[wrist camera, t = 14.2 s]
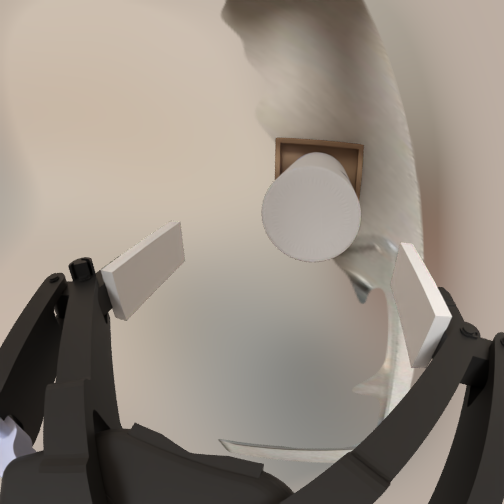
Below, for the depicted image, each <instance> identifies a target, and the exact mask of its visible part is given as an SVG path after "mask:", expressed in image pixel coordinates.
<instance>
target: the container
mask: <svg viewBox="0 0 504 504" xmlns="http://www.w3.org/2000/svg"><path fill="white" fill-rule="evenodd" d="M262 221H263V225H264V229H265V231H266V233H267V235H268V237H269V239H270V240H271V241H272V243H273V244H274V245H275V246H276V247H277V248H278V249H279V250H280V251H281V252H283V253H284V254H286V255H288V256H290V257H292V258H294V259H297V260H300V261H305V262H321V261H326V260H329V259H332V258H334V257H336V256H338V255H340V254H341V253H343V252H344V251H345V250H346V249H347V248H348V247H349V246H350V245H351V244H352V242H353V241H354V239H355V238H356V236H357V233H358V231H359V227H360V222H361V209H360V204H359V201H358V198H357V196H356V193H355V191H354V189H353V187H352V184H351V182H350V180H349V178H348V176H347V174H346V171H345V169H344V168H343V166H342V165H341V163H340V162H339V161H338V160H337V159H335V158H334V157H333V156H331V155H328V154H326V153H321V152H312V153H308V154H305V155H303V156H301V157H300V158H299V159H297V160H296V161H295V162H294V163H293V164H292V165H291V166H290V167H289V168H288V169H287V170H285V171H284V172H283V173H282V174H281V175H280V176H279V177H278V178H277V179H276V180H275V181H274V182H273V183H272V184H271V186H270V187H269V189H268V190H267V192H266V194H265V197H264V200H263V204H262Z"/></svg>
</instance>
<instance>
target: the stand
mask: <svg viewBox="0 0 504 504" xmlns="http://www.w3.org/2000/svg"><path fill="white" fill-rule="evenodd" d="M363 149H364V145H361V144H353V143H344V142H335V141H324V140H311V139H296V138H276V150H275V151H276V153H275V180H276V179H277V178H278V177H279V176H280V175H281V174H282V173H283V172H284V171H285V170H287V169H288V168H289V167H290V166H291V165H292V164H293V163H294V162H295V161H296V160H297V159H299V158H300V157H301V156H303V155H305V154H308V153H312V152H321V153H326V154H328V155H331V156H333V157H334V158H335V159H337V160H338V161H339V162H340V163H341V165H342V166H343V168H344V169H345V171H346V174H347V176H348V178H349V180H350V182H351V184H352V187H353V189H354V191H355V193H356V196H357V198H358V201H359V197H360V187H361V176H362V164H363Z"/></svg>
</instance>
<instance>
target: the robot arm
mask: <svg viewBox="0 0 504 504" xmlns="http://www.w3.org/2000/svg"><path fill="white" fill-rule="evenodd" d="M184 261H185V257H184V249H183V241H182V232H181V223H180V222H178V221H169V222H168V223H166V224H165V225H163V226H162V227H160V228H159V229H157V230H156V231H154V232H153V233H152V234H150V235H149V236H147V237H146V238H144V239H143V240H142V241H140V242H139V243H137V244H136V245H134V246H133V247H131V248H130V249H129V250H127V251H126V252H124V253H123V254H122V255H120V256H118V257H117V258H116V259H114V261H112V262H110V263H109V264H108V265H106V266H105V267H103V268H102V269H101V270H99V271H98V272H97V273H95V270H94V266H93V263H92V259H91V258H87V257H84V258H80V259H77V260H75V261H73V262H72V263H70V264H69V270H70V273H71V276H72V279H73V281H72V282H66V279H65V276H64V274H63V273H54V274H52V275H50V276H49V277H47V278H46V279H45V281H44V282H43V283H42V285H41V286H40V287H39V289H38V290H37V291H36V293H35V294H34V296H33V297H32V298H31V300H30V301H29V303H28V304H27V306H26V307H25V309H24V310H23V312H22V313H21V315H20V316H19V318H18V319H17V321H16V323H15V324H14V326H13V327H12V329H11V331H10V332H9V334H8V336H7V337H6V339H5V341H4V342H3V344H2V346H1V348H0V477H1V478H2V484H1V492H0V504H373V503H374V502H375V501H376V500H377V499H378V498H379V497H380V496H381V495H382V494H383V493H384V492H385V490H386V489H387V488H388V487H389V486H390V482H391V481H392V480H393V478H394V477H395V476H396V475H397V474H398V473H399V471H400V470H401V469H402V468H403V467H404V466H405V464H406V463H407V462H408V461H409V460H410V458H411V457H412V456H413V454H414V453H415V452H416V451H417V449H418V448H419V446H420V445H421V444H422V443H423V441H424V440H425V438H426V437H427V436H428V434H429V433H430V431H431V430H432V428H433V427H434V425H435V424H436V422H437V421H438V419H439V418H440V416H441V415H442V413H443V411H444V410H445V408H446V406H447V405H448V403H449V401H450V400H451V398H452V396H453V394H454V393H455V391H456V389H457V387H458V385H459V383H462V384H465V385H467V386H466V392H465V397H464V402H463V406H462V410H461V415H460V418H459V422H458V426H457V430H456V433H455V437H454V440H453V443H452V446H451V449H450V452H449V455H448V458H447V461H446V464H445V466H444V469H443V472H442V474H441V476H440V479H439V481H438V483H437V486H436V488H435V491H434V493H433V495H432V497H431V499H430V501H429V503H428V504H502V502H503V499H504V333H503V332H500V333H497V335H495V337H494V339H493V341H491V340H487V339H483V338H481V337H480V333H479V331H478V329H477V328H476V327H475V326H473V325H472V324H470V323H467V322H464V320H463V318H462V316H461V314H460V312H459V310H458V308H457V307H456V304H455V302H454V301H453V299H452V297H451V295H450V294H449V292H447V291H446V290H445V289H444V288H443V287H437V286H436V284H435V282H434V280H433V279H432V277H431V275H430V273H429V271H428V269H427V268H426V266H425V264H424V262H423V261H422V259H421V257H420V256H419V254H418V252H417V251H416V249H415V247H414V246H413V244H410V243H402V242H400V245H399V250H398V255H397V259H396V264H395V268H394V272H393V276H392V280H391V284H390V285H391V289H392V292H393V295H394V299H395V302H396V306H397V310H398V313H399V317H400V321H401V325H402V329H403V333H404V337H405V341H406V346H407V350H408V355H409V359H410V364H411V368H426V370H425V371H424V372H423V374H422V375H421V376H420V378H419V379H418V381H417V382H416V383H415V384H414V385H413V387H412V388H411V389H410V390H409V392H408V393H407V394H406V395H405V397H404V398H403V399H402V400H401V401H400V402H399V404H398V405H397V406H396V407H395V408H394V409H393V410H392V412H391V413H390V414H389V415H388V416H387V417H386V418H385V419H384V420H383V421H382V422H381V424H380V425H379V426H378V427H377V428H376V429H375V430H374V431H373V432H372V433H371V434H370V435H369V436H368V437H367V438H366V439H365V440H364V441H363V442H361V443H360V444H359V445H358V446H357V447H356V448H355V449H354V450H353V451H351V452H348V453H347V454H346V455H344V456H343V457H342V458H341V459H339V460H338V461H337V462H336V463H334V464H333V465H332V466H331V467H330V468H328V469H327V470H326V471H325V472H323V473H322V474H321V475H319V476H318V477H317V478H315V479H314V480H313V481H311V482H310V483H309V484H308V485H306V486H305V487H303V488H302V489H300V490H299V491H297V492H296V493H293V492H292V490H291V489H290V488H289V487H288V486H287V485H286V484H285V483H283V482H282V481H281V480H279V479H278V478H276V477H274V476H273V475H271V474H269V473H266V472H264V471H263V467H264V464H261V463H256V462H251V461H247V460H242V459H238V458H234V457H230V456H217V455H204V454H194V453H189V452H188V451H186V450H184V449H183V448H181V447H180V446H178V445H177V444H175V443H174V442H172V441H171V440H169V439H168V438H167V437H165V436H164V435H162V434H160V433H158V432H155V431H153V430H150V429H148V428H146V427H143V426H141V425H139V424H137V423H134V425H133V426H132V428H131V429H122V426H121V424H120V420H119V413H118V407H117V400H116V393H115V384H114V375H113V364H112V351H111V332H110V317H109V314H108V312H109V311H110V310H111V309H113V312H114V314H115V317H116V318H119V319H122V320H125V321H127V320H128V319H129V318H130V317H131V316H132V315H133V314H134V313H135V312H136V311H137V310H138V308H139V307H140V306H141V305H142V304H143V303H144V302H145V301H146V300H147V299H148V298H149V297H150V296H151V295H152V294H153V293H154V292H155V291H156V290H157V289H158V288H159V287H160V286H161V285H162V284H163V283H164V282H165V280H167V279H168V277H170V276H171V275H172V273H173V272H174V271H175V270H176V269H177V268H178V267H179V266H180V265H181V264H182V263H183V262H184ZM54 310H55V312H56V314H57V315H56V317H55V314H54ZM431 359H433V360H432V361H431ZM430 361H431V363H430V364H429V362H430ZM428 364H429V366H428ZM427 366H428V367H427ZM55 378H56V383H54V381H55ZM43 417H44V427H43V428H44V429H43V430H44V431H43V444H44V450H43V451H39V452H36V451H35V450H34V449H33V448H32V446H33V445H34V443H35V441H36V438H37V436H38V433H39V431H40V427H41V424H42V421H43Z"/></svg>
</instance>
